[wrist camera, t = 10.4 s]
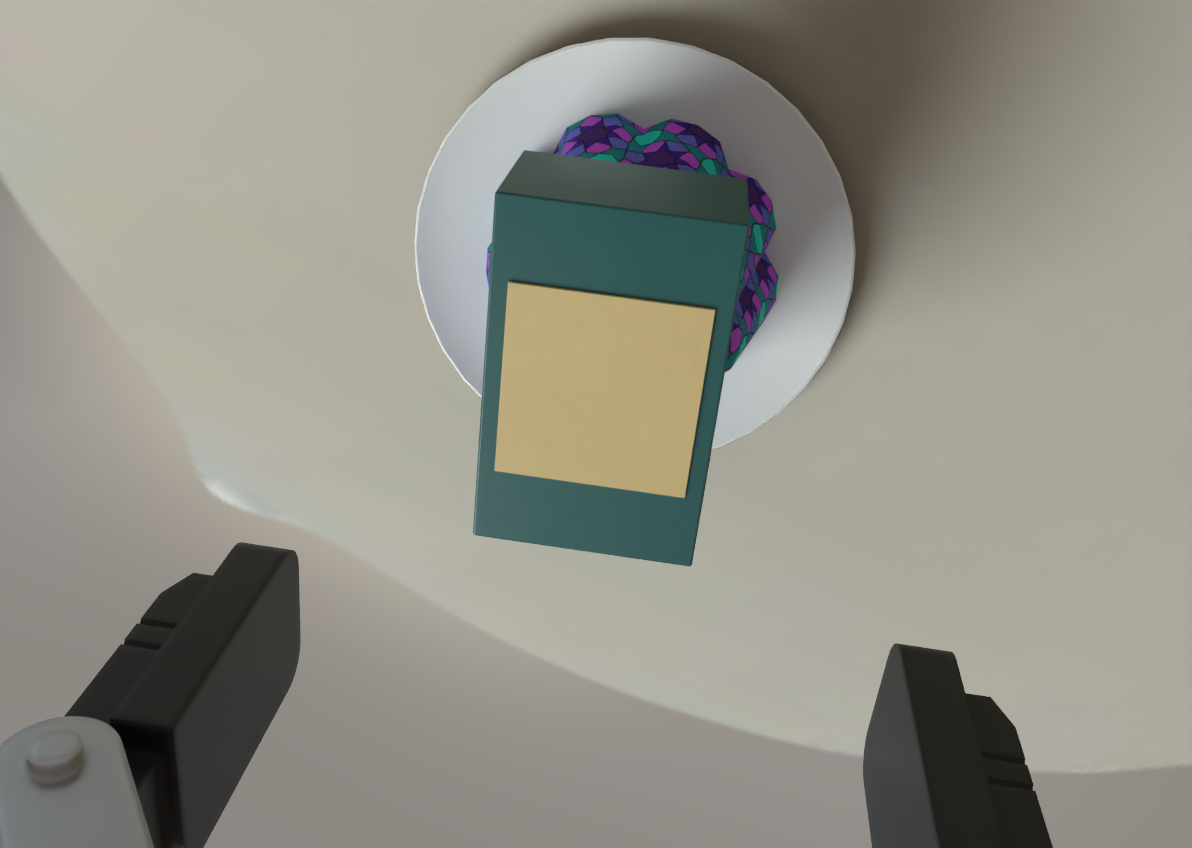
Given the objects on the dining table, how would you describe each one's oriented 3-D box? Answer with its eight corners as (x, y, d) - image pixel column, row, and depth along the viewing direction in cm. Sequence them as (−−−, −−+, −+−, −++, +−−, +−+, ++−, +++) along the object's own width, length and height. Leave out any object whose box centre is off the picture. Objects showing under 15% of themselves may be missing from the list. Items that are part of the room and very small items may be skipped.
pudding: (384, 55, 30) (320, 93, 25) (851, 10, 28) (875, 42, 23) (457, 457, 35) (415, 550, 30) (853, 440, 33) (874, 535, 29)
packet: (747, 178, 25) (750, 226, 22) (695, 489, 29) (691, 569, 26) (523, 149, 25) (494, 192, 22) (500, 462, 29) (472, 537, 26)
